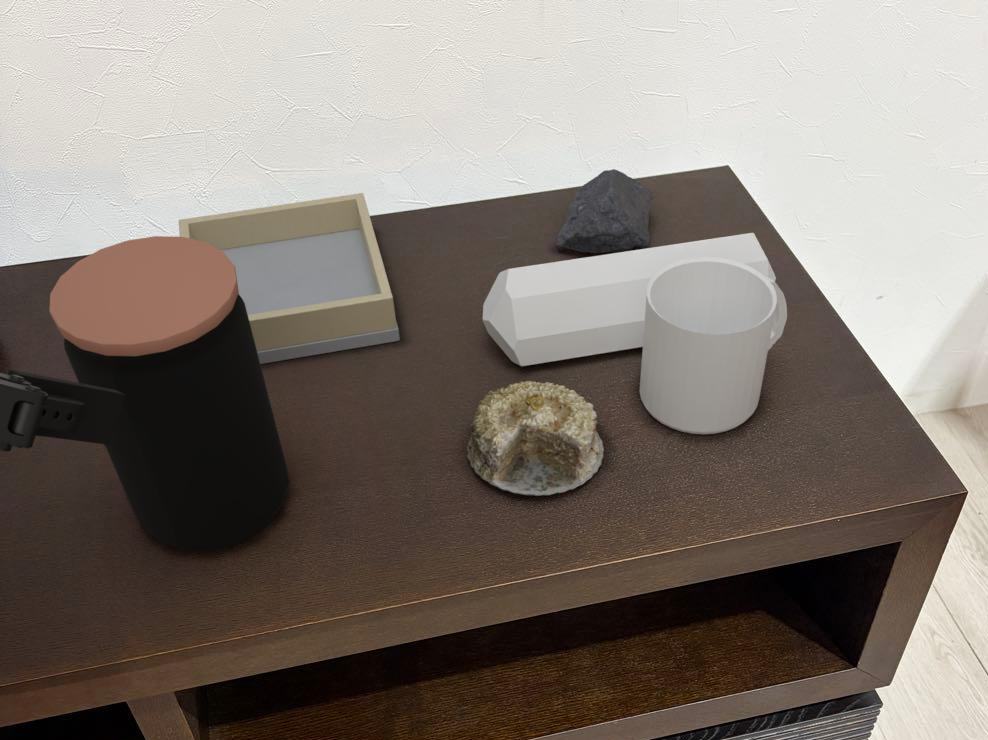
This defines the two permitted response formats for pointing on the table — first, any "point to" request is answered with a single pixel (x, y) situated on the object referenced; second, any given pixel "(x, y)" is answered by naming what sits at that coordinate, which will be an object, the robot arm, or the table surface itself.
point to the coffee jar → (177, 387)
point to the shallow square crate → (305, 275)
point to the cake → (535, 439)
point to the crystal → (592, 299)
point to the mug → (707, 343)
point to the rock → (607, 215)
